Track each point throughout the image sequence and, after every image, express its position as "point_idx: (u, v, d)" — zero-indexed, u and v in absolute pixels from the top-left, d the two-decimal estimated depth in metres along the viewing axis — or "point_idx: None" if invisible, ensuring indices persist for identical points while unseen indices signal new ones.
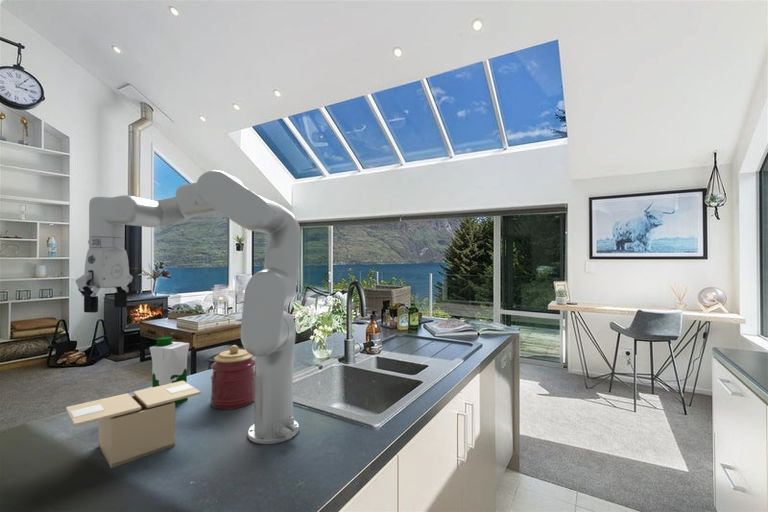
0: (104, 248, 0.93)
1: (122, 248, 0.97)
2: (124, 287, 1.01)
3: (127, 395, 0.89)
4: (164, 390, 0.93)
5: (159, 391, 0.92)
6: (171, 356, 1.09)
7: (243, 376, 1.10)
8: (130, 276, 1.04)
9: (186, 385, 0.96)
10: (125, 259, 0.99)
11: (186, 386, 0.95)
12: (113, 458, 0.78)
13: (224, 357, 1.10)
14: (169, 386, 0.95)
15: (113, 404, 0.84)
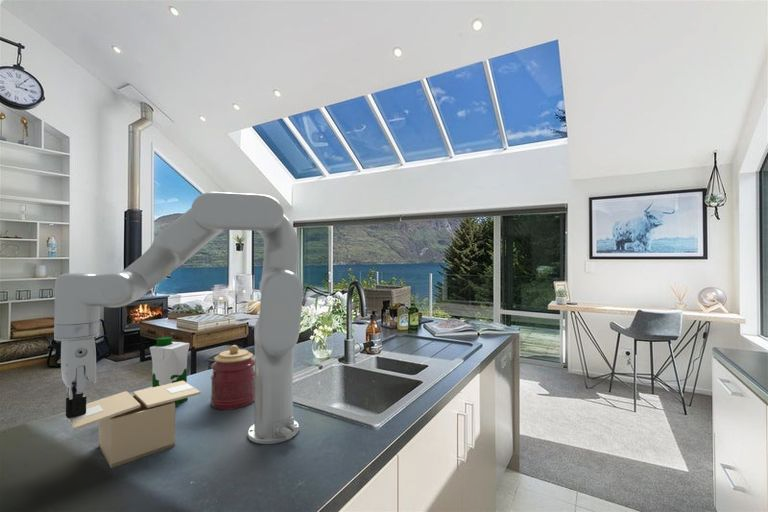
0: (91, 336, 0.78)
1: None
2: None
3: (126, 393, 0.89)
4: (164, 390, 0.93)
5: (159, 391, 0.92)
6: (171, 356, 1.09)
7: (243, 376, 1.10)
8: None
9: (186, 385, 0.96)
10: None
11: (186, 386, 0.95)
12: (113, 458, 0.78)
13: (224, 357, 1.10)
14: (169, 386, 0.95)
15: (112, 404, 0.84)
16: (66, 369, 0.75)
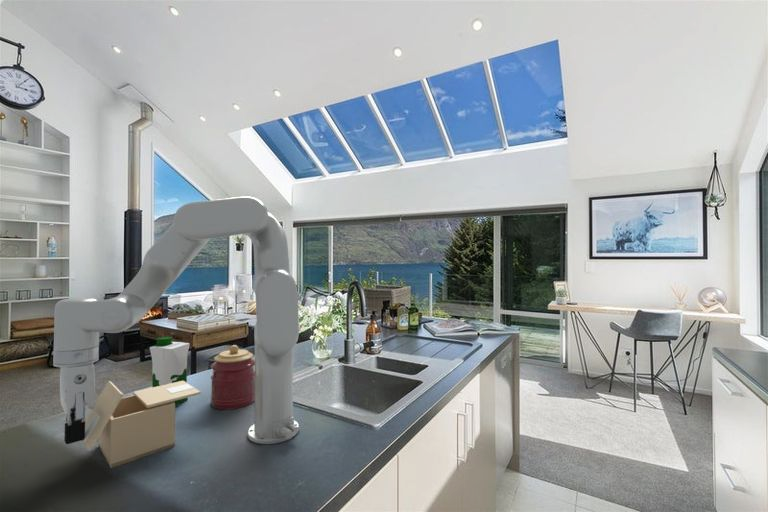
0: (90, 361, 0.78)
1: None
2: None
3: (109, 385, 0.86)
4: (164, 390, 0.93)
5: (159, 391, 0.92)
6: (171, 356, 1.09)
7: (243, 376, 1.10)
8: None
9: (186, 385, 0.96)
10: None
11: (186, 386, 0.95)
12: (113, 458, 0.78)
13: (224, 357, 1.10)
14: (169, 386, 0.95)
15: (103, 404, 0.82)
16: (65, 396, 0.75)
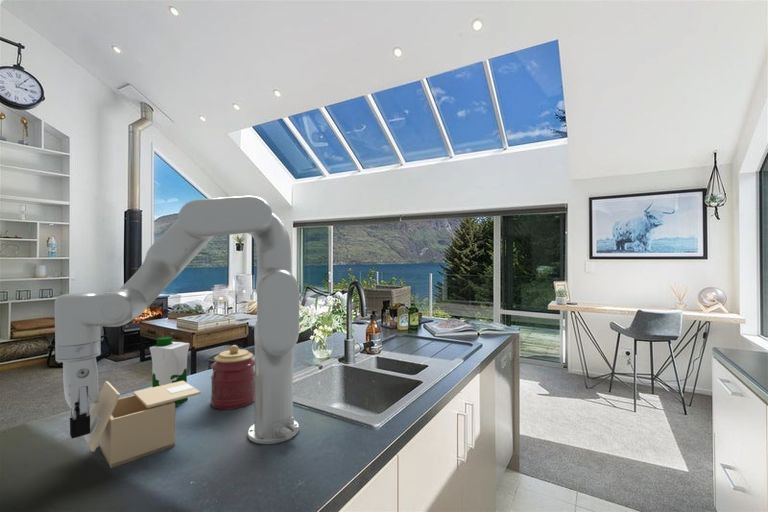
0: (92, 355, 0.78)
1: None
2: None
3: (106, 385, 0.86)
4: (164, 390, 0.93)
5: (159, 391, 0.92)
6: (171, 356, 1.09)
7: (243, 376, 1.10)
8: None
9: (186, 385, 0.96)
10: None
11: (186, 386, 0.95)
12: (113, 458, 0.78)
13: (224, 357, 1.10)
14: (169, 386, 0.95)
15: (102, 405, 0.82)
16: (69, 390, 0.75)
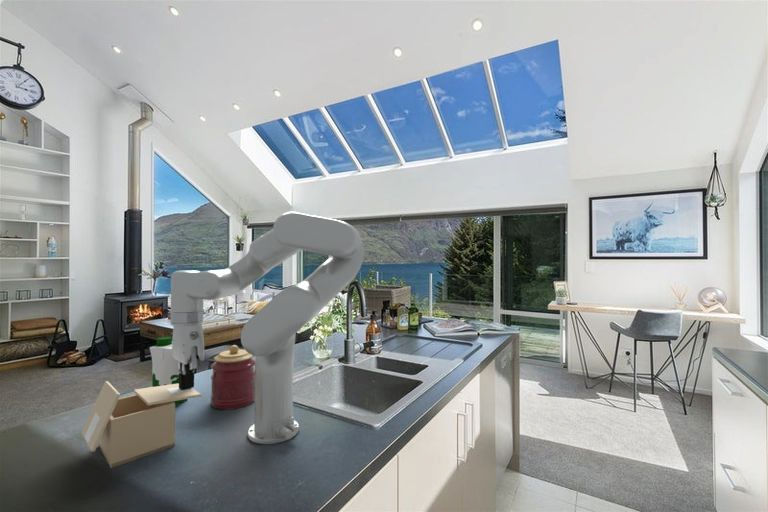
0: (199, 322, 0.94)
1: None
2: None
3: (106, 385, 0.86)
4: (165, 390, 0.93)
5: (160, 391, 0.92)
6: (171, 356, 1.09)
7: (243, 376, 1.10)
8: None
9: None
10: None
11: None
12: (113, 458, 0.78)
13: (224, 357, 1.10)
14: (169, 387, 0.96)
15: (102, 405, 0.82)
16: (183, 349, 0.91)
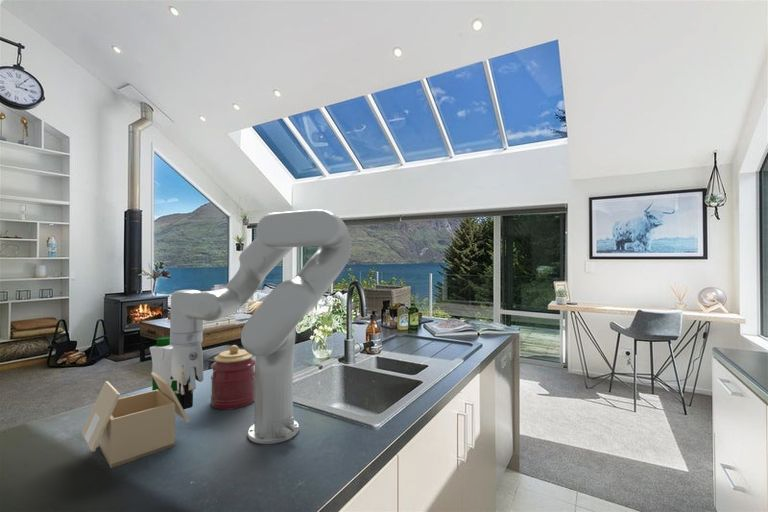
0: (199, 342, 0.94)
1: None
2: None
3: (106, 385, 0.86)
4: None
5: None
6: (171, 356, 1.09)
7: (243, 376, 1.10)
8: None
9: None
10: None
11: None
12: (113, 458, 0.78)
13: (224, 357, 1.10)
14: None
15: (102, 405, 0.82)
16: (182, 370, 0.91)
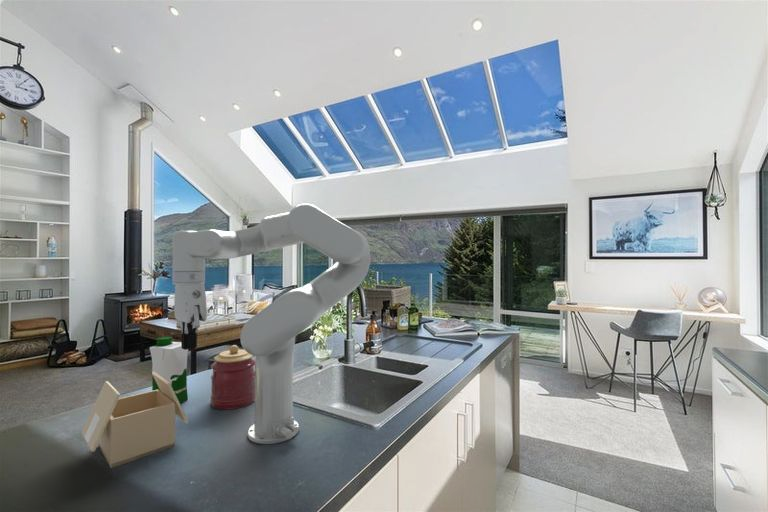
0: (201, 282, 0.95)
1: None
2: None
3: (106, 385, 0.86)
4: None
5: None
6: (171, 356, 1.09)
7: (244, 376, 1.10)
8: None
9: None
10: None
11: None
12: (113, 458, 0.78)
13: (224, 357, 1.10)
14: None
15: (102, 405, 0.82)
16: (186, 307, 0.91)
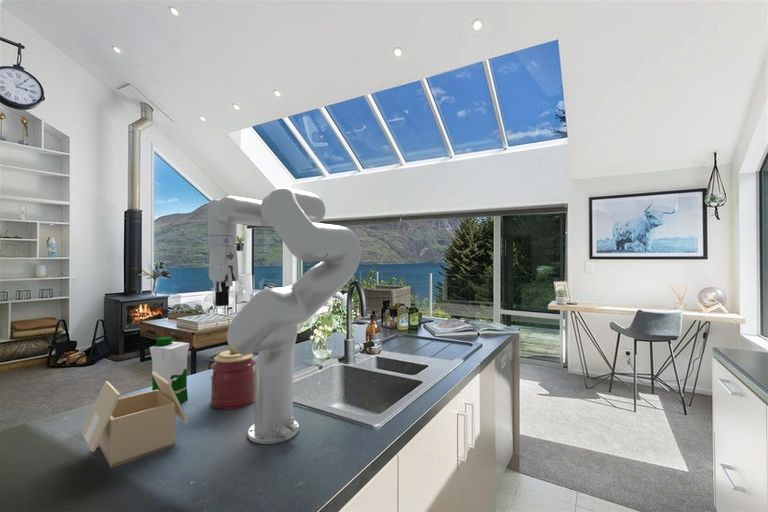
0: (234, 246, 1.06)
1: None
2: None
3: (106, 385, 0.86)
4: None
5: None
6: (171, 356, 1.09)
7: (243, 376, 1.10)
8: None
9: None
10: None
11: None
12: (113, 458, 0.78)
13: (224, 357, 1.10)
14: None
15: (102, 405, 0.82)
16: (220, 267, 1.02)
